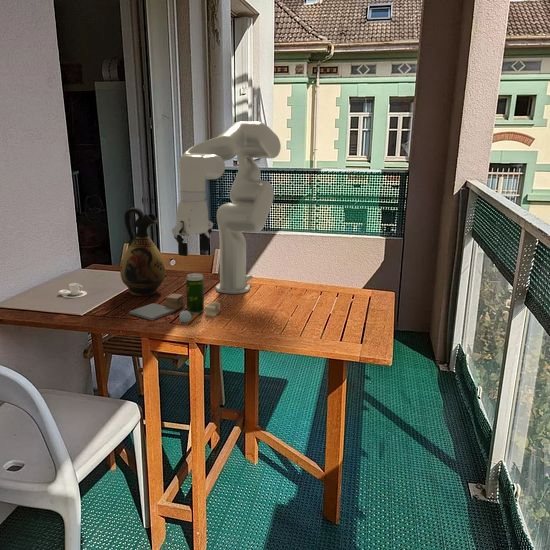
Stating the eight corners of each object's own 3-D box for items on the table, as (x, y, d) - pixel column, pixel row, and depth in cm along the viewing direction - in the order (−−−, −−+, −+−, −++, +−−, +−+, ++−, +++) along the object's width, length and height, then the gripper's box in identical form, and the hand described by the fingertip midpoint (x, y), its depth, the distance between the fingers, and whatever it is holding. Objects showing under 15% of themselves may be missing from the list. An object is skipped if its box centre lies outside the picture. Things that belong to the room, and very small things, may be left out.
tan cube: (172, 304, 162) (172, 293, 161) (183, 306, 161) (183, 294, 160) (166, 308, 159) (166, 297, 158) (177, 310, 158) (177, 298, 157)
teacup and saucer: (55, 297, 168) (54, 285, 167) (71, 290, 176) (70, 279, 175) (76, 300, 166) (75, 288, 165) (91, 293, 173) (91, 282, 172)
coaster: (153, 305, 161) (153, 303, 161) (175, 311, 156) (175, 309, 156) (129, 313, 153) (129, 311, 153) (151, 320, 148) (151, 318, 148)
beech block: (211, 310, 158) (211, 301, 157) (220, 311, 157) (220, 302, 157) (205, 315, 153) (205, 306, 153) (214, 316, 153) (214, 307, 152)
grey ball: (185, 319, 150) (184, 308, 149) (194, 321, 148) (193, 310, 147) (176, 322, 147) (176, 311, 146) (185, 325, 145) (185, 313, 144)
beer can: (203, 308, 160) (202, 272, 157) (204, 313, 155) (204, 277, 152) (186, 309, 159) (185, 273, 155) (187, 314, 154) (186, 278, 150)
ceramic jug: (173, 288, 180) (170, 207, 172) (152, 300, 166) (148, 212, 158) (132, 283, 184) (128, 204, 176) (108, 295, 170) (102, 209, 162)
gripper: (202, 194, 156) (203, 246, 160) (163, 198, 142) (164, 255, 146) (221, 196, 152) (221, 249, 156) (182, 200, 138) (183, 259, 142)
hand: (193, 252), depth 151 cm, fingers open, 9 cm apart
